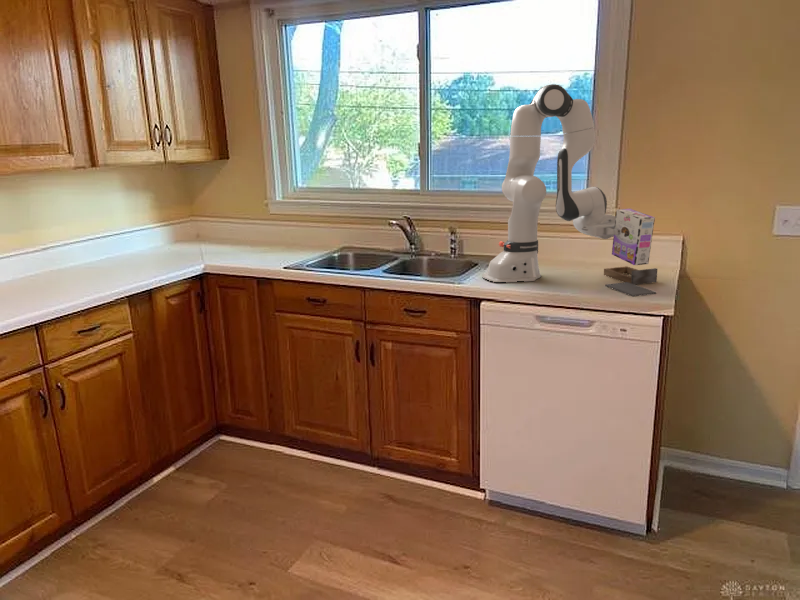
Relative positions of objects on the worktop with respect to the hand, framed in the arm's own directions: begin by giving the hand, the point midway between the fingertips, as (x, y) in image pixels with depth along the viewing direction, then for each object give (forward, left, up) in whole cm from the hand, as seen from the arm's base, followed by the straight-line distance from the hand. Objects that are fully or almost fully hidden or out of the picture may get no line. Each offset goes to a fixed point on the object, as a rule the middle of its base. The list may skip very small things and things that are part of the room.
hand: (627, 231), depth 215 cm
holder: (+10, +11, -20) cm, 25 cm away
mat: (0, -4, -20) cm, 20 cm away
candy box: (0, -2, -10) cm, 10 cm away
